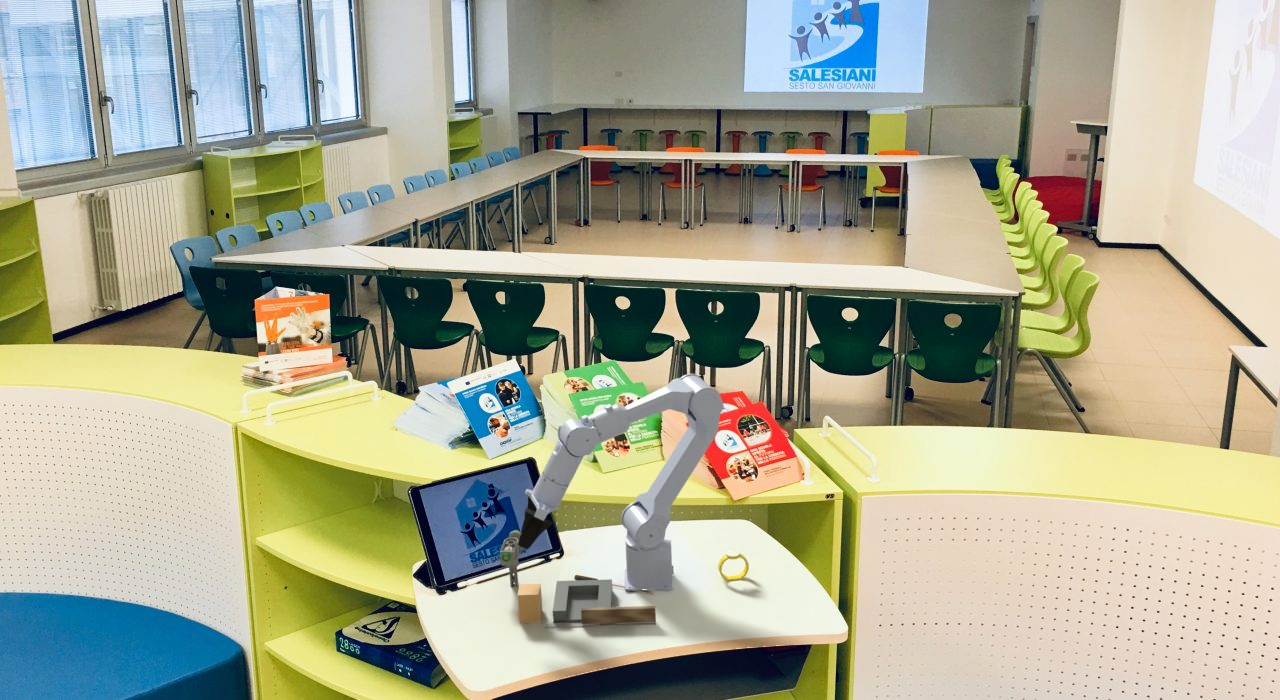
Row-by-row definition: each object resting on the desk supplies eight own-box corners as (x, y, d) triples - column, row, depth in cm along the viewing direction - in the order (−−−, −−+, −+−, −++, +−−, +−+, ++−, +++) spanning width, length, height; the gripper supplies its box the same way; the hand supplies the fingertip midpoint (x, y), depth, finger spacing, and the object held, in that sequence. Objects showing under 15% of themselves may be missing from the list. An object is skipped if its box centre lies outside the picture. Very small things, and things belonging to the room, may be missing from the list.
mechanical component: (526, 572, 226) (523, 528, 223) (516, 598, 216) (512, 553, 213) (512, 571, 226) (509, 528, 223) (501, 598, 217) (498, 553, 214)
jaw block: (542, 610, 212) (540, 583, 210) (540, 622, 208) (538, 594, 206) (521, 611, 212) (519, 584, 210) (519, 622, 208) (517, 595, 206)
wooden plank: (655, 619, 207) (655, 605, 206) (655, 622, 206) (655, 608, 205) (582, 621, 207) (581, 608, 206) (581, 624, 206) (581, 610, 205)
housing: (654, 589, 218) (654, 578, 217) (655, 624, 206) (655, 612, 205) (550, 592, 218) (549, 581, 217) (544, 627, 206) (544, 615, 205)
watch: (721, 585, 220) (719, 559, 218) (718, 578, 222) (716, 552, 220) (750, 579, 220) (748, 553, 218) (747, 572, 223) (744, 547, 221)
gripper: (538, 460, 215) (508, 519, 216) (534, 479, 200) (502, 543, 202) (571, 475, 215) (540, 535, 217) (569, 496, 201) (536, 559, 202)
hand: (524, 540), depth 209 cm, fingers open, 7 cm apart
